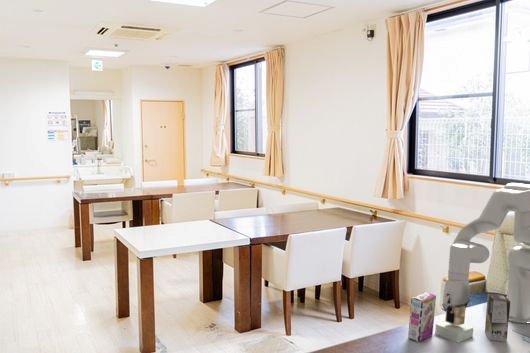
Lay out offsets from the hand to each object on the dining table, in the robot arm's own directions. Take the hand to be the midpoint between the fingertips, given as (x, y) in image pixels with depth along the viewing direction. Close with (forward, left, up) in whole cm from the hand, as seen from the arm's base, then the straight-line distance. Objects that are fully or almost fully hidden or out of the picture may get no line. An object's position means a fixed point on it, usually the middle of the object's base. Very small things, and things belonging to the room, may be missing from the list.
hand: (454, 320), depth 196 cm
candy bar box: (+14, -4, -6) cm, 16 cm away
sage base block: (0, 0, -6) cm, 6 cm away
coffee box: (-14, +9, -6) cm, 17 cm away
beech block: (0, 0, -1) cm, 1 cm away
